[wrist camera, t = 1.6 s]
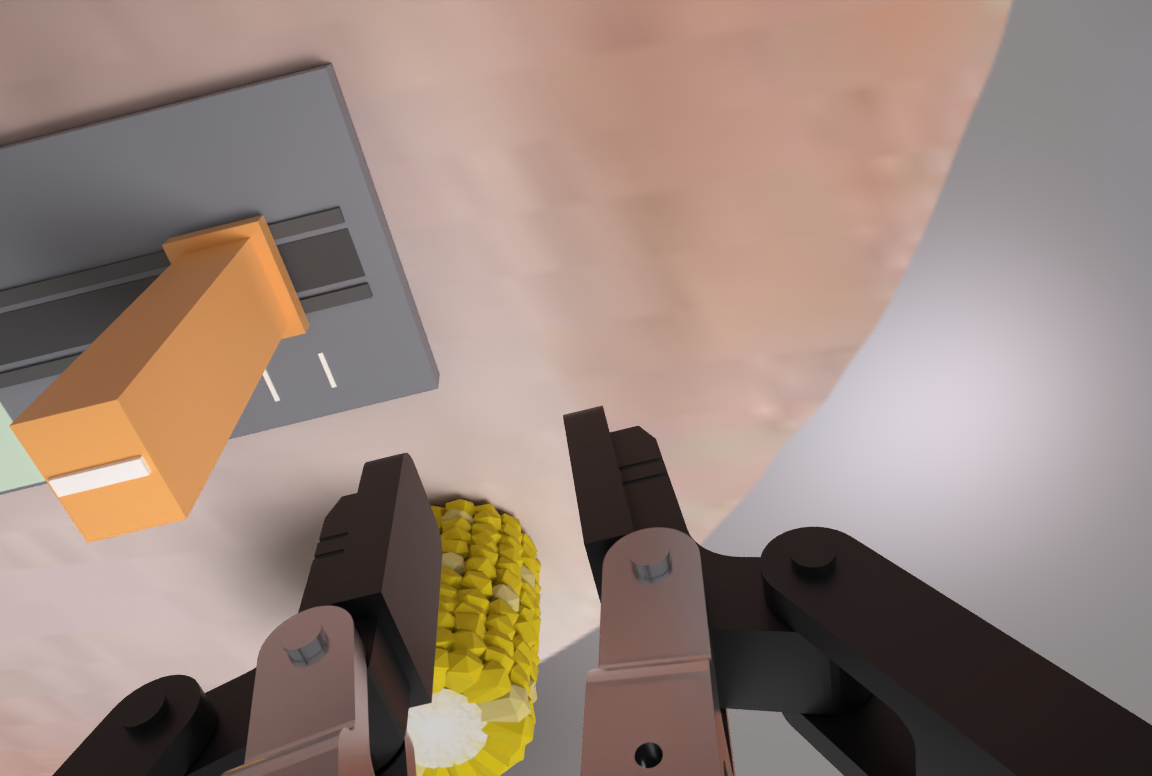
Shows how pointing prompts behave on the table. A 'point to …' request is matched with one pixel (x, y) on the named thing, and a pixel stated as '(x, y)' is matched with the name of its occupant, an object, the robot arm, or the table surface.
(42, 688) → the table surface
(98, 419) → the block
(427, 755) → the food
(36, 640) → the table surface
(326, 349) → the fader board
